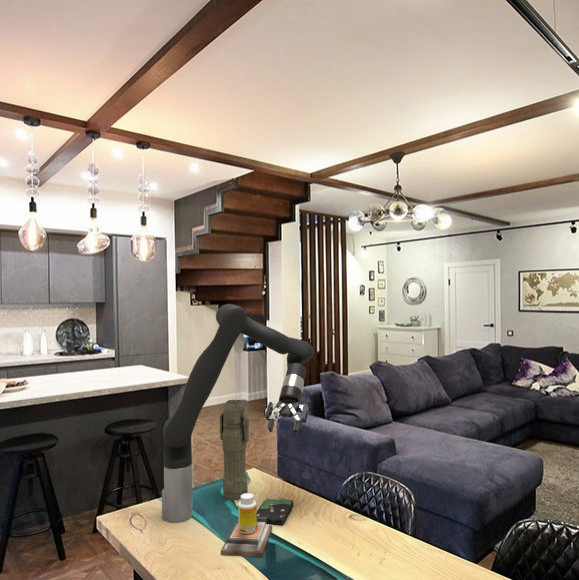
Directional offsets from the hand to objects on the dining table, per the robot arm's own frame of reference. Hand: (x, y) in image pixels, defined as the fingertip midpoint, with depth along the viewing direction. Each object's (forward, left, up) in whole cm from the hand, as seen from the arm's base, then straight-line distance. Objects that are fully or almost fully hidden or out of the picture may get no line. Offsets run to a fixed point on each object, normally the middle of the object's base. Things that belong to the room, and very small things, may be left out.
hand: (282, 431), depth 153 cm
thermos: (-21, +17, -29) cm, 40 cm away
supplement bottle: (-9, -14, -26) cm, 31 cm away
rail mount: (-9, -15, -29) cm, 33 cm away
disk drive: (-4, +4, -29) cm, 30 cm away
